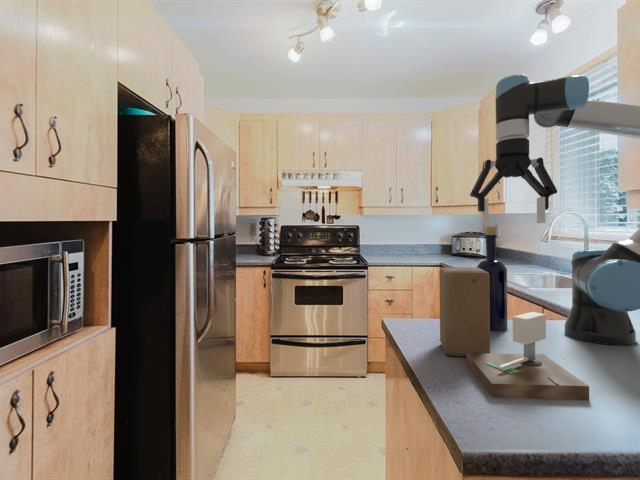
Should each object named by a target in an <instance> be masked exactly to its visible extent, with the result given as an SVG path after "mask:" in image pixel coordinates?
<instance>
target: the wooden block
mask: <svg viewBox="0 0 640 480" xmlns="http://www.w3.org/2000/svg"><path fill="white" fill-rule="evenodd" d="M438 277H439V341H440V344H441V346H442V348H443V350H444V353H445V355H446V356H450V357H466V353H491V331H490V275H489V273H488V272H486V271H484V270H482V269H480V268H477V266H472V267H471V266H469V267H467V266H466V267H459V266H457V267H455V266H454V267H449V266H448V267H446V266H444V267H441V268H440V269H439V276H438ZM466 358H467V357H466Z"/></svg>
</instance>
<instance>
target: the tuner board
mask: <svg viewBox="0 0 640 480" xmlns="http://www.w3.org/2000/svg"><path fill="white" fill-rule="evenodd" d="M523 357H524V353H491V352H490V353H466V365H467V366H468V368H469V369H470V371H471V372H472V373H473V374H474V376H475V377H476V378H477V380H478V381H479V382H480V383H481V385H483V387H484V389H485V390H486V391H487V392H488V393H489V394H490V397H492V398H511V399H512V398H515V399H545V400H546V399H547V400H549V399H550V400H551V399H552V400H577V401H578V400H581V401H582V400H583V401H589V400H590V386H589V384H587V383H585V382H584V381H583V380H581V379H580V378H579V377H577V376H576V375H574V374H572V373H571V372H570V371H568V370H567V369H565V368H564V367H562V366H561V365H560V364H558V363H557V362H555V361H554V360H552V358H550V357H548V356H547V355H545V354H543V353H535V360H534V361H530V360H528V361H525V362H522V363H519V364H517V365H514V366H511V367H509V368H506V369H503V370H501V369H498V366H500V365H503V364H506V363H509V362H512V361H514V360H517V359H520V358H523Z"/></svg>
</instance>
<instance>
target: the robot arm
mask: <svg viewBox="0 0 640 480" xmlns="http://www.w3.org/2000/svg"><path fill="white" fill-rule="evenodd" d="M589 94H590V81H589V78H588V77H587V75H585V74H584V75H583V74H582V75H570V76H566V77H559V78H554V79H548V80H543V81H537V82H531V81H530V77H529V76H528V75H526V74H522V73H521V74H512V75H508V76H505V77H503V78H502V79H500V80H499V81H498V82H497V83H496V86H495V141H497V142H496V144H495V160H491V159H487V160H484V161H483V163H482V168H481V169H482V170H481V171H480V173H479V175H478V178H477V180H476V181H475V184H474V185H473V188H472V189H471V191H470V194H469V196H470V197H471V198H475V199H477V211H478V212H481V225H489V224H490V223H489V198H486V197H487V195H488V194H489V193H490V192H492V190H493V188H494V187H495V186H496V185H497V184H498V183H499V181H500V180H501V179H502V178H522V179H523V180H525V181H526V183H527V184H528V185H529V186H530V187H531V188H532V189H533V190H534V191H535V192H536V193H537V195H538V196H539V197H537V198H536V224H546V210H549V207H550V206H549V205H550V204H549V203H550V202H549V199H550V197H551V196H552V195H556V194H557V193H558V189H557V187H556V185H555V184H554V182H553V179H551V177H550V175H549V173H548V171H547V168H546V167H545V164H544V159H543V157H541V156H540V157H537V158H534V159H531V158H530V139H529V137H530V116H531V115H533V119H534V122H535V123H536V125H538V126H539V127H541V128H545V129H546V128H547V129H548V128H553V127H562V128H568V129H574V130H575V129H576V130H581V131H587V132H588V131H589V132H595V133H599V134H601V133H602V134H607V135H613V136H619V137H626V138H633V139H639V140H640V105H636V104H635V105H633V104H627V103H619V102H611V101H603V100H595V99H589ZM530 166H532V168H534V171H535V173H536V174H537V177H538V178H539V180H538V179H537V178H536V177H535V175H534V174H533V173H532V171H531V170H530V169H529V167H530ZM493 168H495V169H496V170H497V172H496V173H495V174H494V175H493V177H492V178H491V179H490V180H489V182H488V183H487V184H486V186H484V188H483V189H482V187H483V185H484V183H485V181H486V179H487V177H488V176H489V173H490V171H491V170H492V169H493ZM481 189H482V190H481ZM571 266H572V267H571V271H572V272H571V273H572V274H571V279H572V280H571V282H572V283H571V287H572V288H571V290H572V293H571V295H572V296H571V297H572V298H571V302H572V303H571V307H570V310H569V313H568V315H567V318H566V320H565V323H564V334H565V335H567V336H568V337H569V338H570V337H571V338H573V339H576V340H580V341H584V342H588V343H595V344H600V345H602V344H603V345H610V346H611V345H614V346H625V345H627V346H628V345H631V344H635V343H636V339H637V335H636V334H637V333H636V331H635V328H634V325H633V323H632V320H631V317H630V316H629V312H633V311H634V312H635V311H638V310H640V227H639V228H638V229H637V230H636V231H635V232H634V233H633V234H631V236H629V238H628V239H626V240H619V241H614V242H613V243H612V244H611V245H610V246H609V247H608V248H607V249H589V250H588V249H587V250H577V251H575V252H573V254H572V259H571Z"/></svg>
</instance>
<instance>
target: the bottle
mask: <svg viewBox="0 0 640 480" xmlns="http://www.w3.org/2000/svg"><path fill="white" fill-rule="evenodd" d="M484 238H485V245H486V248H485V249H486V250H485V251H486V259H484V260H481V261H480V262H479V263H478V265H477V266H476V267H477V268H480V269H482V270H484V271H486V272H488V273H489V275H490V332H498V333H500V331H501V332H505V330H507V329H508V269H507V267H506V266H505V264H504V263H503V262H502V261H500V260H497V259H496V257H497V255H496V252H497V251H496V249H497V246H496V245H497V238H498V236H497V226H486V227H485V235H484ZM507 331H508V330H507Z"/></svg>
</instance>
